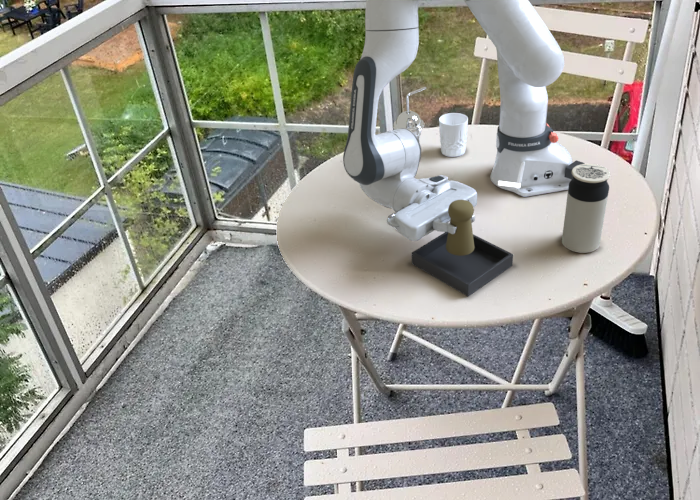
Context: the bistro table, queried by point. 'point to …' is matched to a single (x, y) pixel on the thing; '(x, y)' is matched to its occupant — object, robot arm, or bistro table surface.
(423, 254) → the bin
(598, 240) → the travel mug
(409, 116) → the cup with straw
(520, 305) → the bistro table surface
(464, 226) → the olive pawn
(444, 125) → the white cup
